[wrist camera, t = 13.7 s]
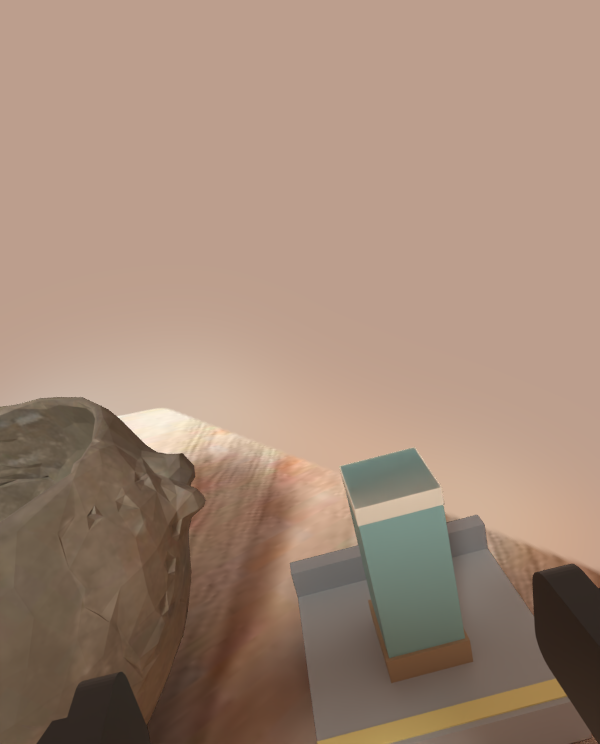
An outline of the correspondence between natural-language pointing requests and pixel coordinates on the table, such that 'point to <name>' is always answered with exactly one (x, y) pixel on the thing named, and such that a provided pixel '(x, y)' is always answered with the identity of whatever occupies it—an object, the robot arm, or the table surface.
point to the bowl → (86, 559)
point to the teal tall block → (407, 563)
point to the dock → (437, 689)
